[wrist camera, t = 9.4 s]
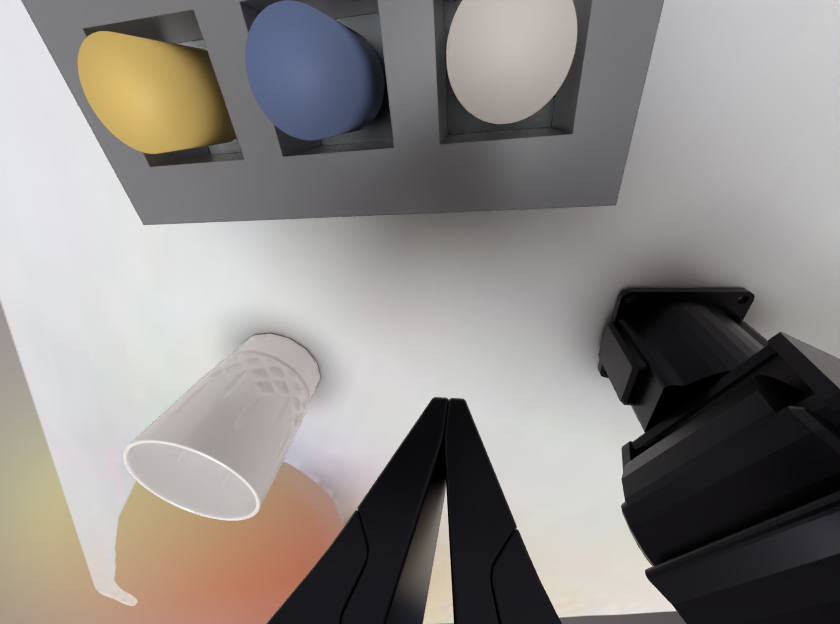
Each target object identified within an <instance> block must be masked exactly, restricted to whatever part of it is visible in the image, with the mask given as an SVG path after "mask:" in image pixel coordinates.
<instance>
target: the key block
mask: <svg viewBox="0 0 840 624" xmlns="http://www.w3.org/2000/svg"><path fill="white" fill-rule="evenodd" d="M21 1H22V3H23V4H24V6H25V8H26V10H27V12H28V14H29V15H30V17H31V19H32V21H33V23H34V25H35V26H36V28H37V30H38V32H39V34H40V36H41V37H42V39H43V41H44V43H45V45H46V47H47V48H48V50H49V52H50V54H51V56H52V58H53V59H54V61H55V63H56V65H57V67H58V69H59V70H60V72H61V74H62V76H63V78H64V80H65V81H66V83H67V85H68V87H69V89H70V91H71V92H72V94H73V96H74V98H75V100H76V102H77V104H78V105H79V107H80V109H81V111H82V113H83V115H84V116H85V118H86V120H87V122H88V124H89V126H90V127H91V129H92V131H93V133H94V135H95V137H96V138H97V140H98V142H99V144H100V146H101V148H102V149H103V151H104V153H105V155H106V157H107V159H108V160H109V162H110V164H111V166H112V168H113V170H114V171H115V173H116V175H117V177H118V179H119V181H120V182H121V184H122V186H123V188H124V190H125V192H126V193H127V195H128V197H129V199H130V201H131V203H132V204H133V206H134V208H135V210H136V212H137V214H138V215H139V217H140V219H141V221H142V223H143V225H156V224H180V223H204V222H228V221H252V220H276V219H300V218H324V217H348V216H372V215H396V214H420V213H444V212H468V211H492V210H516V209H540V208H564V207H588V206H612V205H616V202H617V198H618V194H619V190H620V185H621V181H622V177H623V173H624V168H625V164H626V160H627V156H628V151H629V147H630V143H631V139H632V134H633V130H634V126H635V122H636V117H637V113H638V109H639V105H640V100H641V96H642V92H643V88H644V83H645V79H646V75H647V71H648V66H649V62H650V58H651V54H652V49H653V45H654V41H655V37H656V32H657V28H658V24H659V20H660V15H661V11H662V7H663V3H664V0H573V3H574V7H575V11H576V18H577V42H576V48H575V53H574V57H573V60H572V64H571V66H570V69H569V71H568V74H567V76H566V78H565V79H564V81H563V83H562V85H561V86H560V88H559V89H558V91H557V92H556V94H555V102H554V110H553V119H552V127H547V128H535V129H523V130H511V131H499V132H486V133H474V134H462V135H450V136H448V131H447V100H446V70H445V39H444V8H443V2H450V1H456V0H292V1H299V2H302V3H305V4H307V5H309V6H311V7H313V8H315V9H317V10H319V11H320V12H322V13H324V14H326V15H327V16H329V17H331V18H332V19H338V18H344V17H351V16H358V15H364V14H371V13H377V12H379V18H380V27H381V36H382V45H383V54H384V62H385V71H386V80H387V89H388V98H389V107H390V116H391V125H392V134H393V140H389V141H376V142H364V143H352V144H340V145H328V146H321V143H320V139H319V140H302V139H298V138H295V137H293V136H290V135H288V134H286V133H285V132H283V131H282V130H280V129H279V128H278V127H276V126H275V125H274V124H273V123H272V122H271V121H270V120H269V119H268V117H267V116H266V115H265V114H264V112H263V111H262V109H261V108H260V106H259V105H258V103H257V101H256V99H255V97H254V95H253V93H252V90H251V87H250V84H249V81H248V77H247V72H246V65H245V48H246V41H247V37H248V33H249V30H250V28H251V26H252V24H253V22H254V20H255V19H256V17H257V16H258V15H259V14H260V12H261V11H262V10H264V9H265V8H266V7H268V6H269V5H271V4H273V3H275V2H279V1H285V0H21ZM98 31H110V32H116V33H121V34H126V35H131V36H136V37H141V38H147V39H152V40H157V41H162V42H167V43H173V44H174V43H180V42H187V41H193V40H200V39H204V42H205V45H206V48H207V51H208V54H209V57H210V60H211V63H212V66H213V68H214V71H215V74H216V77H217V80H218V83H219V86H220V89H221V92H222V95H223V98H224V101H225V104H226V107H227V110H228V113H229V116H230V119H231V121H232V124H233V127H234V130H235V133H236V136H237V139H238V142H239V145H240V148H241V151H242V153H230V154H218V155H210V153H209V150H208V147H207V146H202V147H196V148H189V149H183V150H177V151H171V152H164V153H158V154H149V153H144V152H141V151H138V150H135V149H133V148H131V147H130V146H128V145H126V144H125V143H123V142H122V141H120V140H119V139H118V138H117V137H115V136H114V135H113V134H112V133H111V132H110V131H109V130H108V129H107V128H106V127H105V126H104V124H103V123H102V122H101V121H100V119H99V118H98V117H97V115H96V114H95V112H94V111H93V109H92V107H91V106H90V104H89V102H88V100H87V98H86V96H85V94H84V91H83V88H82V86H81V82H80V79H79V73H78V53H79V49H80V46H81V44H82V43H83V41H84V39H86V38H87V37H88V36H89V35H91V34H92V33H95V32H98Z"/></svg>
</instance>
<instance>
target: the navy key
mask: <svg viewBox="0 0 840 624" xmlns="http://www.w3.org/2000/svg"><path fill="white" fill-rule="evenodd" d="M245 65H246V72H247V77H248V81H249V84H250V87H251V90H252V93H253V95H254V97H255V99H256V101H257V103H258V105H259V106H260V108H261V109H262V111H263V112H264V114H265V115H266V116H267V117H268V119H269V120H270V121H271V122H272V123H273V124H274V125H275V126H276V127H278V128H279V129H280V130H282V131H283V132H285V133H286V134H288V135H290V136H293V137H295V138H298V139H302V140H319V139H323V138H328V137H332V136H336V135H341V134H345V133H349V132H353V131H357V130H360V129H362V128H364V127H366V126H367V125H368V124H370V123H371V122H372V121H373V119H374V118H375V117H376V115H377V114H378V112H379V110H380V107H381V105H382V101H383V96H384V76H383V70H382V67H381V63H380V61H379V58H378V56H377V54H376V52H375V51H374V49H373V48H372V46H371V45H370V44H369V43H368V41H367V40H366V39H364V38H363V37H362V36H361V35H360V34H358V33H357V32H355V31H353V30H352V29H350V28H348V27H346V26H345V25H343V24H341V23H339V22H338V21H336V20H334V19H332V18H331V17H329V16H327V15H326V14H324V13H322V12H320V11H319V10H317V9H315V8H313V7H311V6H309V5H307V4H305V3H302V2H299V1H292V0H285V1H279V2H275V3H273V4H271V5H269V6H268V7H266V8H265V9H264V10H262V11H261V12H260V14H259V15H258V16H257V17H256V19H255V20H254V22H253V24H252V26H251V28H250V30H249V33H248V37H247V41H246V48H245Z"/></svg>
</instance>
